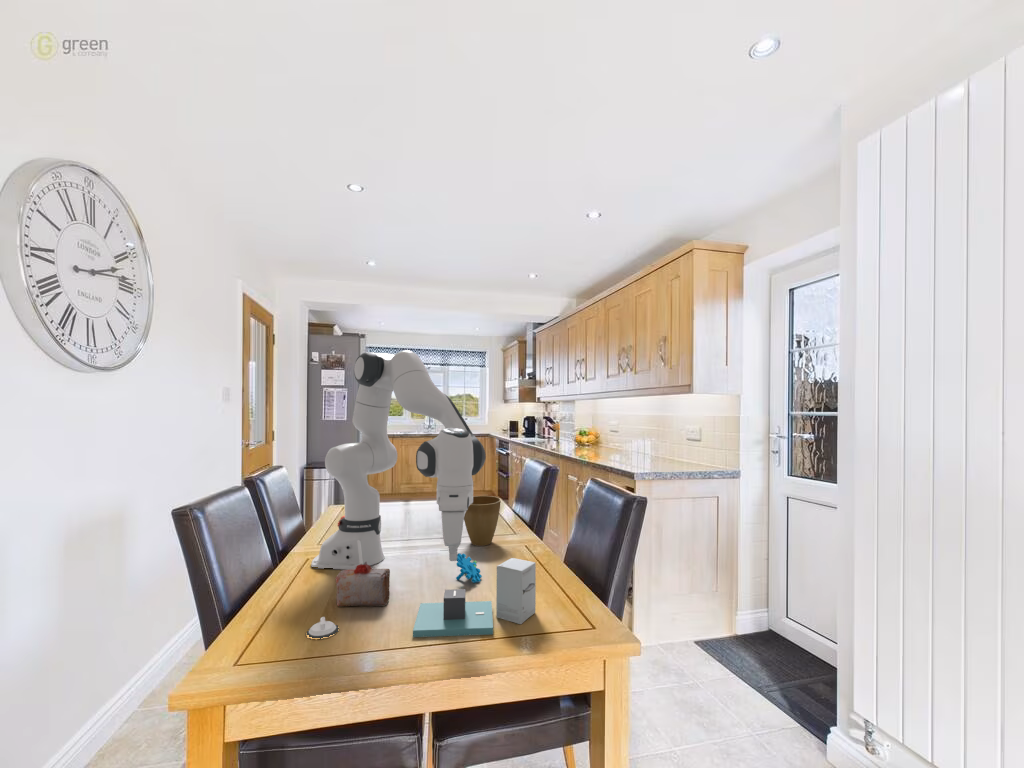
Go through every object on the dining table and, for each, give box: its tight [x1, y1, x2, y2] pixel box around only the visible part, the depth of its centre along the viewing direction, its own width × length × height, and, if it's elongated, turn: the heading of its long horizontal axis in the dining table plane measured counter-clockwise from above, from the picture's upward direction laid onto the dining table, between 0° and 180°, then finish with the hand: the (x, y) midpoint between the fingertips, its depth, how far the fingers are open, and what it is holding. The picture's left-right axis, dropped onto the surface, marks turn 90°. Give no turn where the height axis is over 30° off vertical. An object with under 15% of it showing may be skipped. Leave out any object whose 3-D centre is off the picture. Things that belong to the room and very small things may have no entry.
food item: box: [334, 562, 391, 607], centre depth 122 cm, size 14×8×10 cm, turn 92°
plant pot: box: [463, 495, 502, 547], centre depth 173 cm, size 15×15×16 cm
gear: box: [455, 553, 483, 584], centre depth 138 cm, size 11×6×10 cm
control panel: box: [412, 600, 494, 638], centre depth 112 cm, size 18×14×4 cm
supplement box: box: [495, 557, 537, 625], centre depth 115 cm, size 7×7×13 cm
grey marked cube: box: [443, 588, 467, 620], centre depth 112 cm, size 5×5×5 cm
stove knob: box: [306, 616, 340, 639], centre depth 107 cm, size 7×7×3 cm
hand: (454, 553), depth 112 cm, fingers open, 8 cm apart
